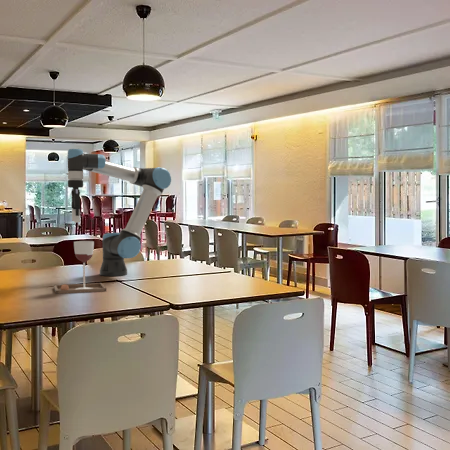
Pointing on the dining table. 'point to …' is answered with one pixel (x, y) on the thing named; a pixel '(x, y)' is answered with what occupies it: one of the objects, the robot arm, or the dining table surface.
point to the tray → (72, 289)
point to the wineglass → (84, 255)
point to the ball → (64, 287)
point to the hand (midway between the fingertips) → (75, 221)
